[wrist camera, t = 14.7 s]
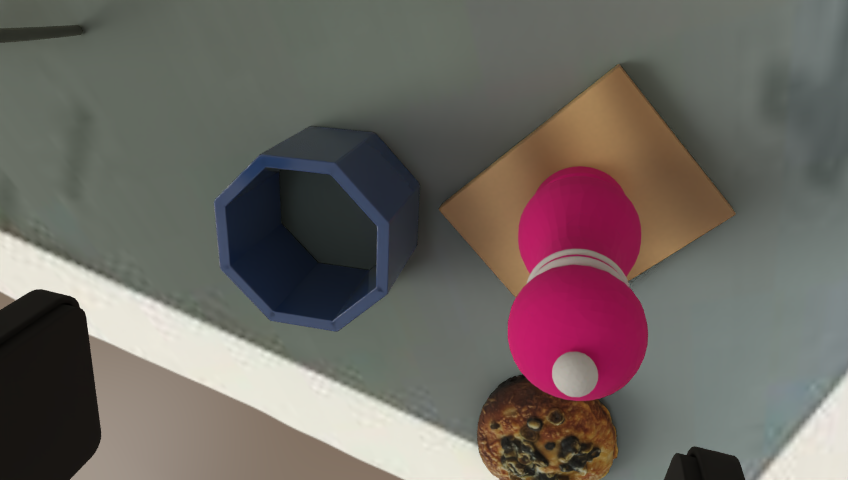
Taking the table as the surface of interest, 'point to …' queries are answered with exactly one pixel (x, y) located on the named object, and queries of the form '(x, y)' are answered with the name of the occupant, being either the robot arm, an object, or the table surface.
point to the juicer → (38, 33)
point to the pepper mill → (578, 288)
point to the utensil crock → (286, 258)
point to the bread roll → (544, 435)
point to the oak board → (601, 149)
